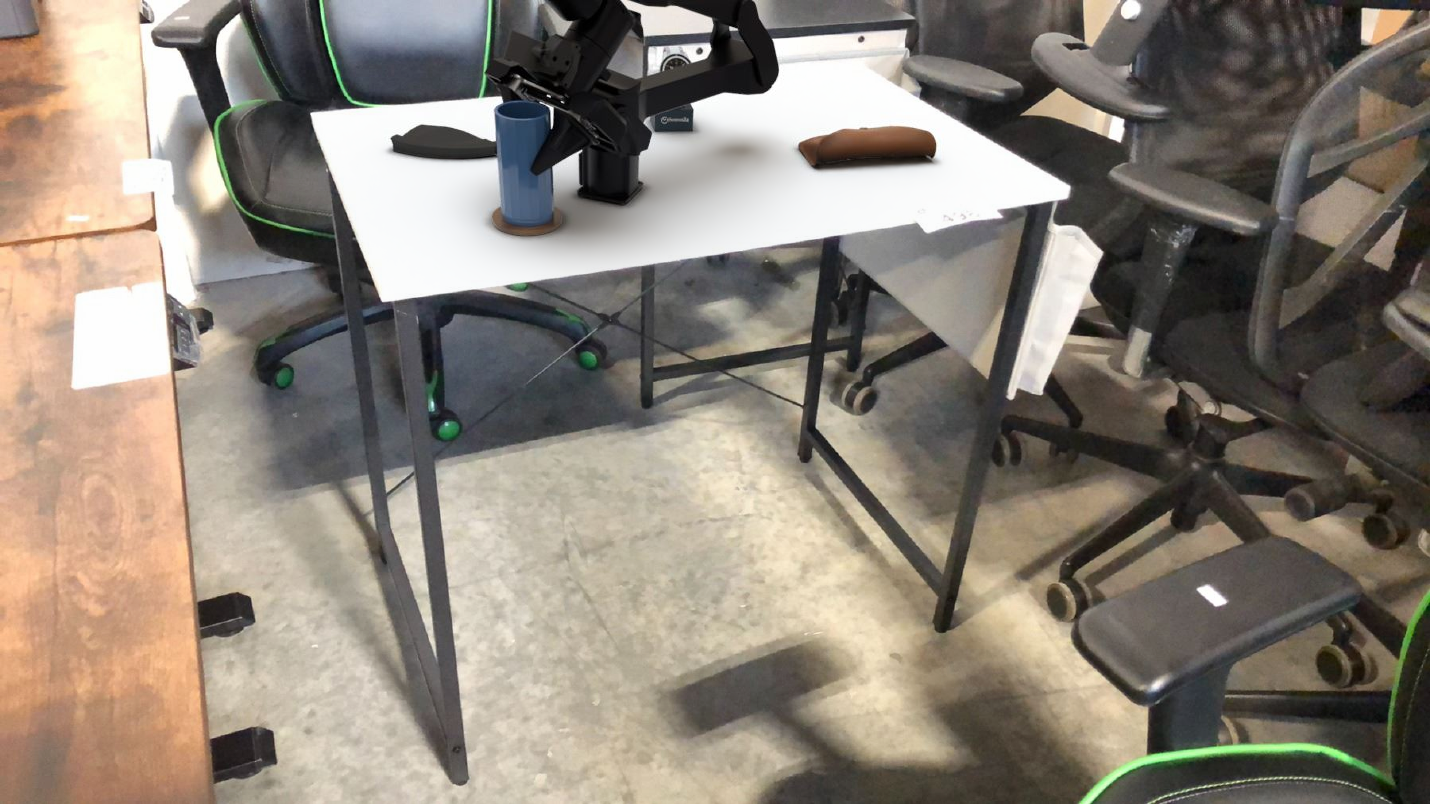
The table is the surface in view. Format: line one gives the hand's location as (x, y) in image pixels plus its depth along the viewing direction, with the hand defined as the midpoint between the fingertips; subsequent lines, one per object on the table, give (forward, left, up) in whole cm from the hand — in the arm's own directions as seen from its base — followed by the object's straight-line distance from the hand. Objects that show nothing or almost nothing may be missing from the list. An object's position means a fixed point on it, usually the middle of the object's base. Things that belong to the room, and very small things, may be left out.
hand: (514, 164), depth 110 cm
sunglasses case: (-33, -40, -7) cm, 52 cm away
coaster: (-1, -1, -7) cm, 7 cm away
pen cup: (-1, -1, -7) cm, 7 cm away
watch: (-5, -38, -7) cm, 39 cm away
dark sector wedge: (+19, -16, -7) cm, 26 cm away
